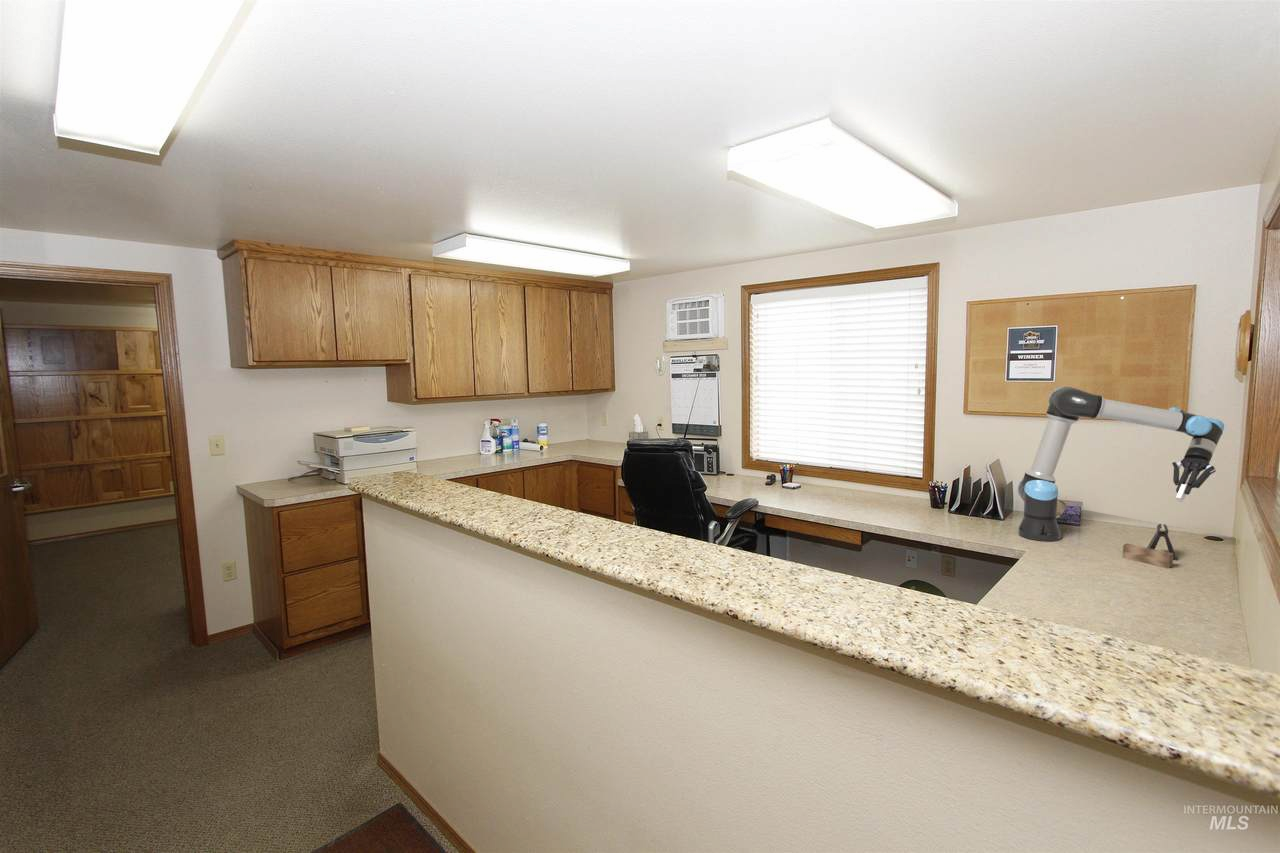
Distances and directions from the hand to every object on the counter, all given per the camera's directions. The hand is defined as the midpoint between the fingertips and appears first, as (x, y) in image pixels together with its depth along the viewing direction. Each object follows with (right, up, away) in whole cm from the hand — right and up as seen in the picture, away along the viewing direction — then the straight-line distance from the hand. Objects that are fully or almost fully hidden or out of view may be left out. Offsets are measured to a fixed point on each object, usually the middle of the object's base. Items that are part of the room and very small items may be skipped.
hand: (1179, 499), depth 226 cm
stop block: (-19, -22, -8) cm, 30 cm away
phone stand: (-9, -22, -2) cm, 24 cm away
